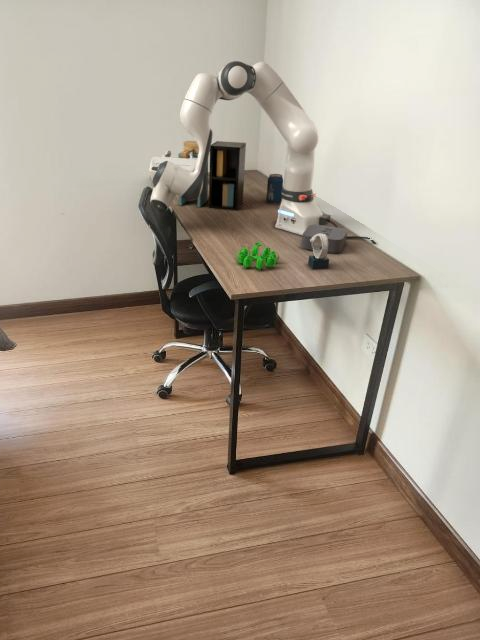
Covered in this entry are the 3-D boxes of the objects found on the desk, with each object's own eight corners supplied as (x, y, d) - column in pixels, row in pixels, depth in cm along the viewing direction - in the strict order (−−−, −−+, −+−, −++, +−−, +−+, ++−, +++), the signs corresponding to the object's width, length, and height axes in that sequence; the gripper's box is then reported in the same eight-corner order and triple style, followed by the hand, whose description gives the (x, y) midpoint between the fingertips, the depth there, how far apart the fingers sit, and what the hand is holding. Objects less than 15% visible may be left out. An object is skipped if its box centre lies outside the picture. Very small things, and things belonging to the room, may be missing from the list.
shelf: (236, 210, 238) (239, 147, 223) (208, 207, 241) (209, 145, 227) (242, 203, 246) (245, 142, 232) (215, 201, 250) (217, 141, 235)
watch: (321, 261, 186) (325, 230, 180) (329, 270, 180) (334, 237, 174) (305, 262, 185) (309, 231, 179) (314, 271, 179) (318, 238, 173)
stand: (199, 207, 242) (200, 155, 229) (179, 205, 244) (178, 153, 232) (207, 200, 251) (208, 150, 239) (187, 198, 254) (187, 148, 241)
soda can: (280, 200, 251) (283, 173, 245) (281, 204, 246) (283, 177, 239) (266, 200, 252) (268, 173, 245) (266, 204, 246) (268, 176, 239)
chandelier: (287, 262, 185) (289, 243, 181) (261, 275, 176) (263, 254, 172) (252, 252, 193) (253, 233, 190) (226, 264, 184) (226, 244, 180)
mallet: (186, 150, 237) (186, 140, 235) (201, 151, 236) (202, 141, 233) (175, 157, 225) (175, 146, 223) (191, 158, 224) (191, 147, 221)
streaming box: (339, 254, 192) (341, 240, 189) (299, 249, 196) (301, 235, 194) (346, 242, 203) (348, 228, 200) (308, 237, 208) (310, 224, 205)
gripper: (194, 172, 209) (203, 148, 214) (145, 168, 214) (155, 144, 219) (196, 185, 214) (205, 160, 220) (148, 181, 219) (158, 157, 225)
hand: (180, 152), depth 220 cm, fingers open, 8 cm apart
